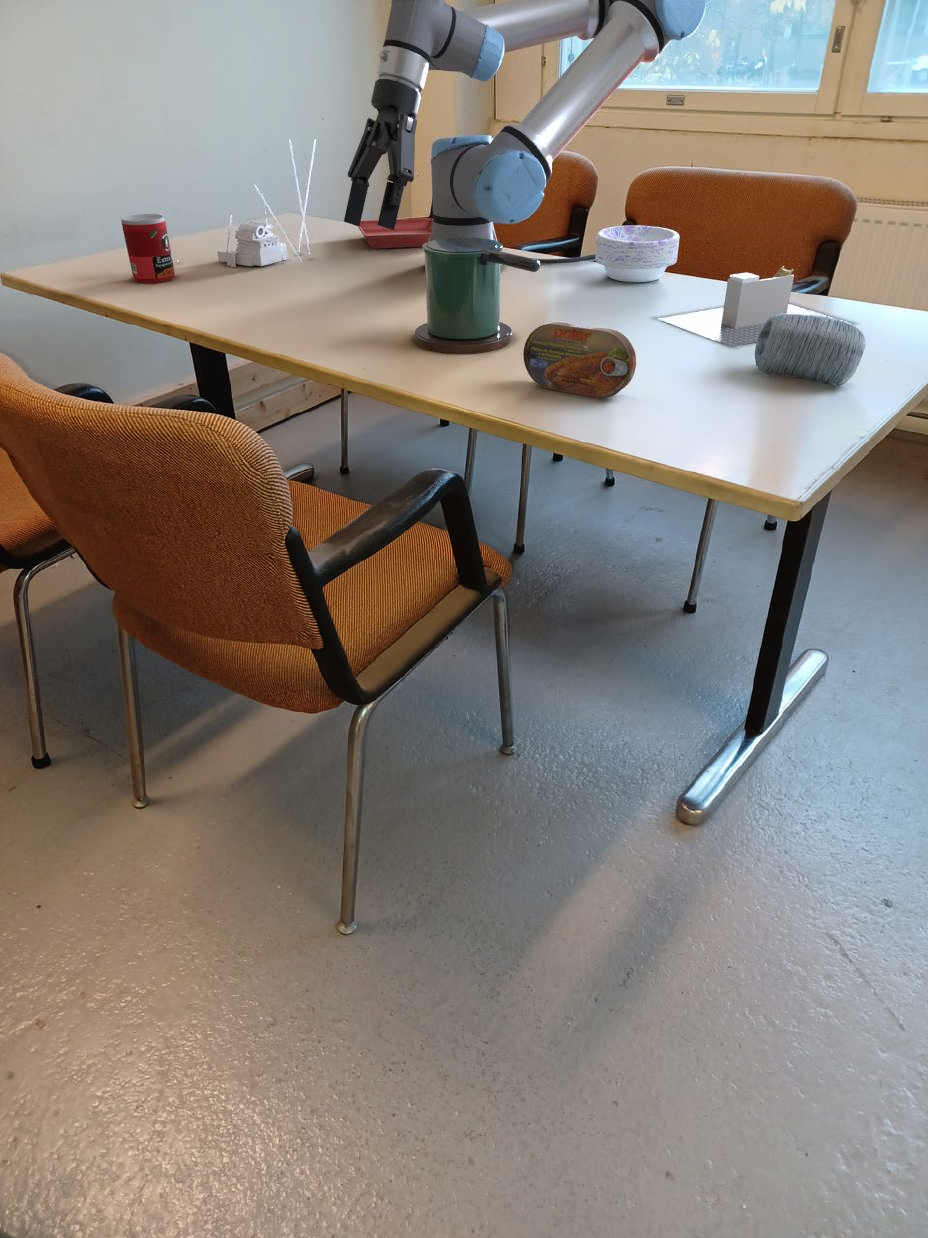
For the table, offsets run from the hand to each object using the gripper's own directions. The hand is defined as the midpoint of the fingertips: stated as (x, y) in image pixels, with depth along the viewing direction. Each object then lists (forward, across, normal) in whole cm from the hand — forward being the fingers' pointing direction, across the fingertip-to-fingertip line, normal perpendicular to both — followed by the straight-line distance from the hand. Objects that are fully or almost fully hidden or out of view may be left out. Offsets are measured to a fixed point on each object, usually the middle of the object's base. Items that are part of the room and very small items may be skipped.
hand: (368, 225), depth 146 cm
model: (-2, +42, +50) cm, 65 cm away
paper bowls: (-6, +8, +52) cm, 53 cm away
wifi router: (+9, -47, -1) cm, 48 cm away
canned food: (+18, -41, -23) cm, 50 cm away
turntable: (+13, +25, +8) cm, 29 cm away
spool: (+6, +65, +37) cm, 75 cm away
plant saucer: (-3, -47, +29) cm, 55 cm away
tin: (+16, +53, +10) cm, 56 cm away
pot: (+12, +30, +9) cm, 33 cm away
